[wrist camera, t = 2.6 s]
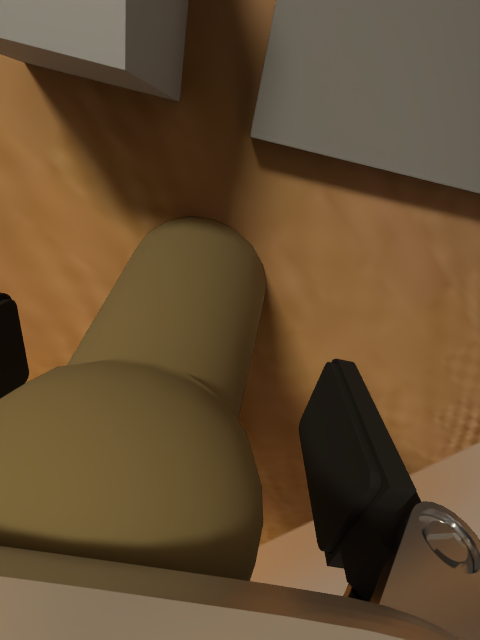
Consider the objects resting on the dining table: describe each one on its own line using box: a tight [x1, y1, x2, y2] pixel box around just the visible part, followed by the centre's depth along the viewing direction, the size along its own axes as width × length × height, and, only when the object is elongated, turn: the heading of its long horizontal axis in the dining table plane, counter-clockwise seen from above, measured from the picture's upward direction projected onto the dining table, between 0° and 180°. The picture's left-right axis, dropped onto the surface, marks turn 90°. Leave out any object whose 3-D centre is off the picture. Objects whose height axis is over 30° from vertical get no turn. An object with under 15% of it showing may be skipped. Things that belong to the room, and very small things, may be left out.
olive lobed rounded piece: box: [0, 217, 266, 581], centre depth 8 cm, size 6×6×11 cm
